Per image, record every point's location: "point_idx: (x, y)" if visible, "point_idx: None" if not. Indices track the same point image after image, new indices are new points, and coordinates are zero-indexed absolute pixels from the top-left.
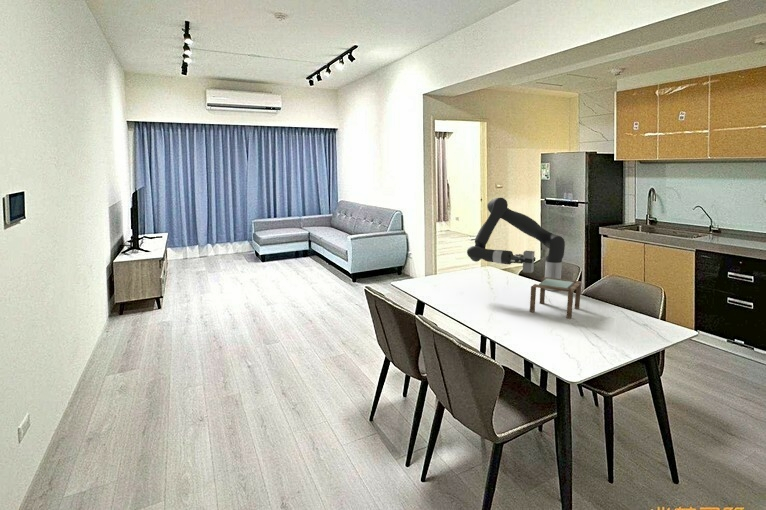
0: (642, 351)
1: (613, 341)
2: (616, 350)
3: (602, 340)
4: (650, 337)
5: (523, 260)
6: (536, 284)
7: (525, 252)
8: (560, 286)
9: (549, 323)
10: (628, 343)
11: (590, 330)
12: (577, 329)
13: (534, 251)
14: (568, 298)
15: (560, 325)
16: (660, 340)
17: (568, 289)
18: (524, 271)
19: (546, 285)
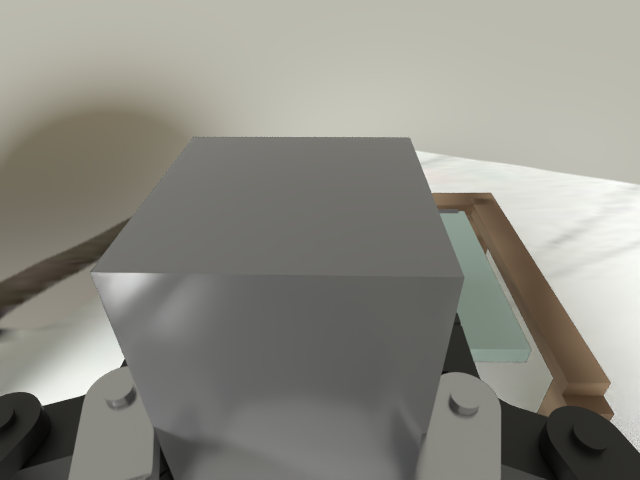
0: (568, 174)
1: (565, 210)
2: (626, 201)
3: (588, 225)
4: (451, 171)
5: (521, 422)
6: (562, 362)
7: (444, 240)
8: (460, 237)
9: (611, 374)
10: (543, 191)
11: (531, 254)
12: (564, 281)
13: (200, 138)
14: (486, 246)
15: (584, 332)
16: (455, 162)
17: (493, 204)
18: None
19: (506, 301)
